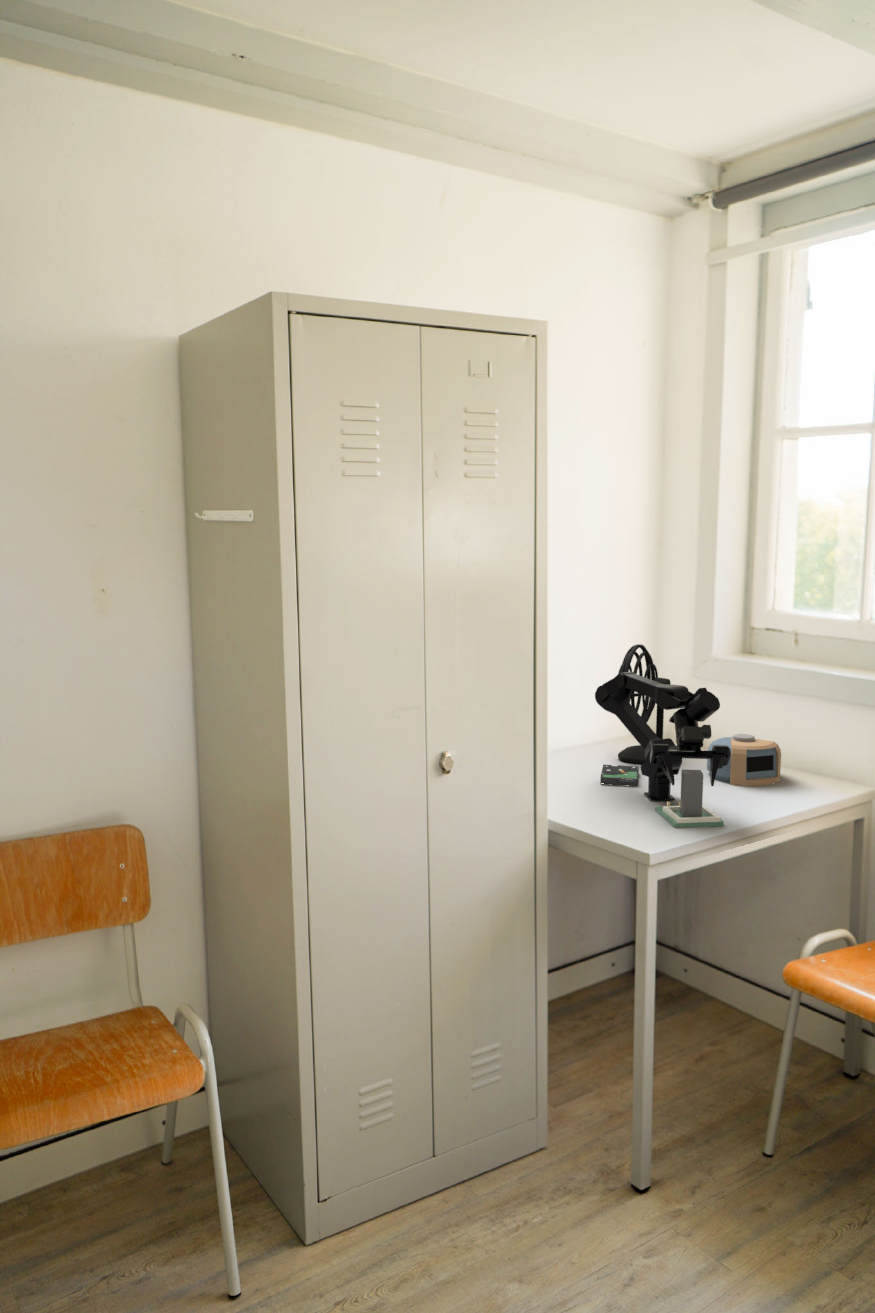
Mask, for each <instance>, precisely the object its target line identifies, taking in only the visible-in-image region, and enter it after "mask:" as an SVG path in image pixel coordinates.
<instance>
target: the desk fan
mask: <svg viewBox="0 0 875 1313" xmlns="http://www.w3.org/2000/svg"><path fill="white" fill-rule="evenodd" d="M638 649H640V650H641V651H642V652H640V654H639V653H638V652H637V650H638ZM634 656H635V658H636V662H635V664H634V668H632V666H631V663H632V660H633V658H634ZM643 657H644V661H645V668H646V669H645V672H644V674H643V664H642V659H643ZM653 660H654V659H653V658H652V656H651V654H650V652H649V651H648V649H647V648H646V646H644V645H643V644H635V645H632V646H631V647H630V648H629V649H628V651H627V652H626V654H625V655H624V657H623V660H622V662H621V665H620V667H619V670H618V673H617V675H618V674H619V673H623V672H634V673H636V674H637V675H640V676H642V677H645V678H648V679H651V680H653V681H656V682H659V683H661V684H666V685H672V684H671V680H670V679H669V678H665V677H659V675H658V669H657V666H656V665H655V663H654V661H653ZM643 675H644V676H643ZM629 696H630V704H631V706H632V707H633V708H634V709H635V710H636V712H637V713H638V714H639V709H640V704H641V701H642V707H643V708H642V712H641V715H640V716H641V717H642V719H643V720H644V721H645V722H646V723H647V724H648V722H649V720H650V717H651V715H652V712H653V711H654V709H655V707H656V720H655V721H656V723H655V734H656V735H657V736H658V737H659V738H660V739H664V718H665V717H664V716H665V715H664V714H665V709H663V708H662V707H660V706H659V705H657V704H656V703H655V700H654V699H652V698H650V697H647V696H645V695H642V694H640V693H637V692H635V691H632V693H631V694H630V695H629ZM635 698H636V699H637V701H635ZM617 757H618V759H619V760H620V761H624V762H626V763H628V762H629V763H636V764H644V763H645V762H646V759H645V750H644V748H643V747H642V746H641V745H640V744H638V745H632V746H627V747H626V748H624V749H622V750H621V751H619V752H618V754H617Z"/></svg>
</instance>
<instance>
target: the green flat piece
mask: <svg viewBox="0 0 875 1313" xmlns="http://www.w3.org/2000/svg"><path fill="white" fill-rule="evenodd" d="M680 802H681V800H680V801H678V805H671V801H667V802H666V806H665V805H664V806H663V805H661V806H659V805H658V806H654V811H655V812H656V813H657V814H659V816H660V817H662V818H663V819H664V820H666V821H667V822H668V823H669V824H670V825H671V826H673V827H674V828H675V829H676V828H699V827H701V828H703V827H704V828H705V827H724V825H725V822H724V821H723V820H722V819H721V816H719V815H718V814H716V813H715V812H714V811H713V810H711V809H710V808H708V807H707V806H705V805H704V804H702V817H686V818H682V816H681V814H680Z"/></svg>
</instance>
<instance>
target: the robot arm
mask: <svg viewBox="0 0 875 1313" xmlns="http://www.w3.org/2000/svg"><path fill="white" fill-rule="evenodd" d="M632 691H635V693H640V694H642V695H645V697H646V696H647V697H649V699H650V698H652V699H654V700H655V703H656V704H655V705H656V706H657V705H659V706H660V707H662V708H663V709H664V711H669V710H676V711H675V712H673V714H672V715H671V716H670V717H669V720H668V721H669V723H672V724H674V730H675V731H674V732H675V742H676V744H675V743H674V741H673V739H672V738H670V737H668V738H663V739H660V738H659V737H658V736H657V735H656V731H654V730H653V729H652V728H651V726H650V725H649V724H648V722H647V723H646V722H645V721H644V720H643V719H642V717H641V715H640V714H639V712H638V713H637V712H636V710H635V709H634V708H633V707H632V706H631V700H630V696H629V695H630V694H631V693H632ZM594 698H595V701H596V703H597V705H599V707H601V708H602V709H603V710H605V711H606V712H609V713H611V714H613V715H615V716H616V717H617V718H618V720H619V721H620V722H621V723H622V725H624V727H625V728H626V729H627V730H628V732H629V733H630V735H632V736H633V737H634V739H635V740H636V741H637V742H638V745H641V746H642V747H643V748H644V750H645V759H646V762H645V763H642V764H641V766H640V768H639V769H640V772H641V775H642V776H645V777H648V786H647V792H646V791H645V792H643V795H644V796H645V797H646V798H648V799H649V801H651V802H655V801H675V800H676V798H675V797H674V796H673V795H671V786H675V783H676V782H675V775H678V774H679V772H680V769H681V766H682V764H683V759H693V760H697V759H699V760H707V759H710V763H711V765H710V772H709V776H710V777H709V778H710V780H709V781H710V786H711V787H714V785H715V780H716V779H715V777H716V773H717V770H718V769H721V768H722V767H723V766H726V765H728V762H729V759H730V756H731V751H730V748H729V747H728V746H727V745H713V747H712V751H708V750H702V748H703V747H704V740H705V739H707V740H708V739H711V738H712V728H711V727H712V726H711V724H702V726H699V723H702V722H705V721H706V720H708V719H709V718H710V717H711V716H712V715H713V714H715V713H716V712H717V711H718V710H719V709H720V706H721V702H720V700H719V697H717V696H716V695H715V694H714V693H712V692H711V691H708V689H707V688H706V687H700V688H698V689H697V690H696V691H695V692H694V693H693V692H691V691H689V688H688V687H687V686H686V685H681V684H680V685H679V684H671V685H666V684H661V683H659V682H656V681H653V680H651V679H648V678H647V677H646V678H645V677H644V676H643V677H642V676H640V675H639V674H638V673H637V674H636V673H634V671H632V672H630V671H629V672H623V673H619V674H618V673H617V675H615V676H614V677H613V678H611V679H609V680H608V681H606V682H604V683H603V684H602V685H599V686H598V687H597V688H596V691H595V693H594Z"/></svg>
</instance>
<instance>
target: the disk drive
mask: <svg viewBox="0 0 875 1313" xmlns="http://www.w3.org/2000/svg"><path fill="white" fill-rule="evenodd" d="M639 771H640V768H639V766H637V765H621V764H619V765H617V766H616V765H612V764H602V770H601V774H600V783H599V784H601V783H604V784H612V785H611V786H619V785H629V786H628V787H635V786H636V787H638V785H639Z"/></svg>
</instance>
